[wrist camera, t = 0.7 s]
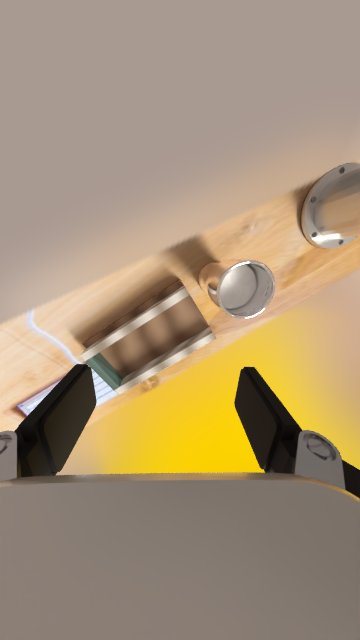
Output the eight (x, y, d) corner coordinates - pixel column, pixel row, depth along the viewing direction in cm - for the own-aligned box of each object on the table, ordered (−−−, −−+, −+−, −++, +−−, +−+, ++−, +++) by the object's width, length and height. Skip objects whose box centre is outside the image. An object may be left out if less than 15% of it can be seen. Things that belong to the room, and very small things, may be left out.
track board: (180, 279, 32) (181, 281, 28) (214, 334, 37) (219, 343, 33) (85, 341, 36) (74, 351, 32) (126, 385, 40) (122, 398, 36)
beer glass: (214, 302, 34) (245, 331, 20) (188, 281, 33) (202, 296, 18) (238, 275, 33) (289, 285, 19) (212, 251, 31) (247, 243, 17)
